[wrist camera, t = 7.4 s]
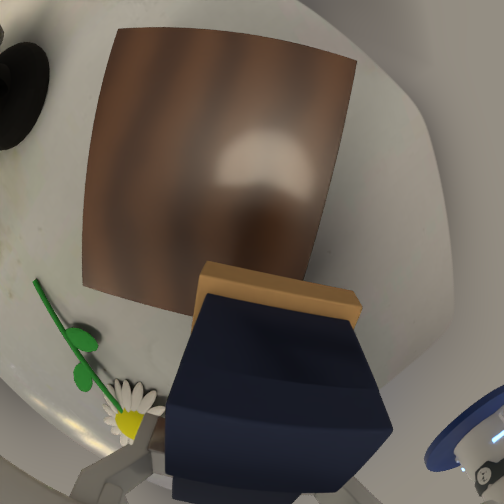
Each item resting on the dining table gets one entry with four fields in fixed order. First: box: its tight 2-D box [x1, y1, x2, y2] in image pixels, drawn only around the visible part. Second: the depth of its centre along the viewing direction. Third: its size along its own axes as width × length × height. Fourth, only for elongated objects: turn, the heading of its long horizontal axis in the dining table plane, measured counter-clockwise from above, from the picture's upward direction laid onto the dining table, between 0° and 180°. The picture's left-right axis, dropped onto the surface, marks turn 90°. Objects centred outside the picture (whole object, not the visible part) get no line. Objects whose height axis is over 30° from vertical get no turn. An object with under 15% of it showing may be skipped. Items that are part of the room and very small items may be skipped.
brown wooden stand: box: [82, 27, 357, 316], centre depth 24 cm, size 19×23×6 cm
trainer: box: [165, 261, 393, 504], centre depth 9 cm, size 12×5×6 cm, turn 168°
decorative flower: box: [33, 279, 165, 446], centre depth 34 cm, size 13×5×30 cm
